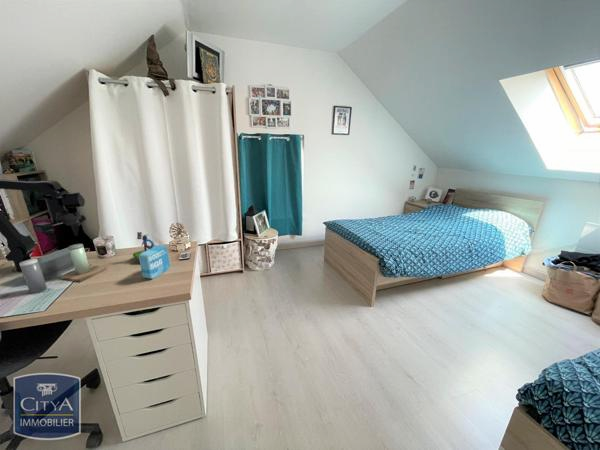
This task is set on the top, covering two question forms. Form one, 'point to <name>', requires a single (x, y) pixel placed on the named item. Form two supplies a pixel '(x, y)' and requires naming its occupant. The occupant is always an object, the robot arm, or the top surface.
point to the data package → (154, 262)
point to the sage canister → (79, 258)
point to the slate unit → (55, 263)
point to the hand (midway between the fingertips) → (66, 239)
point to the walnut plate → (82, 277)
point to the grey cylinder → (33, 276)
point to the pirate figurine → (144, 238)
